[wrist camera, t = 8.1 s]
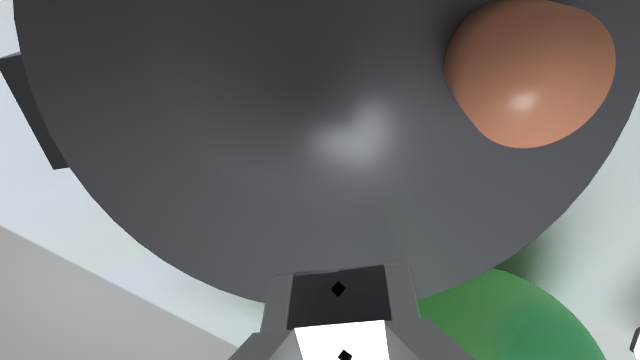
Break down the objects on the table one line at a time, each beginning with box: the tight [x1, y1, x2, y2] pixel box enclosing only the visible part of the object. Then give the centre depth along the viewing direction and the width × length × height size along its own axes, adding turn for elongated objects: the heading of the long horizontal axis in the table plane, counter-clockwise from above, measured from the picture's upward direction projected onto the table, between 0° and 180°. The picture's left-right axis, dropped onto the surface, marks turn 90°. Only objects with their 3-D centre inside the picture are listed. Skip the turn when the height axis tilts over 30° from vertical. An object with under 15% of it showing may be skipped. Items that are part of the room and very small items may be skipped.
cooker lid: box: [13, 0, 640, 303], centre depth 11 cm, size 18×16×4 cm
